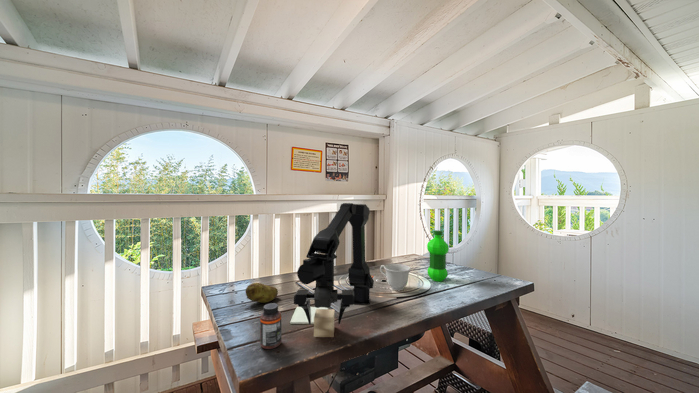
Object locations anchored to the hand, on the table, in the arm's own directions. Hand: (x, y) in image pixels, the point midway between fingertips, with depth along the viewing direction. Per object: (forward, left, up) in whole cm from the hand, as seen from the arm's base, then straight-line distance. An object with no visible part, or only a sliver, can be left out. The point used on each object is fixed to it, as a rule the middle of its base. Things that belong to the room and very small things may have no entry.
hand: (324, 323), depth 85 cm
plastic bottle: (-53, -51, -3) cm, 74 cm away
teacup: (-29, -39, -3) cm, 49 cm away
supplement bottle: (+15, +7, -3) cm, 17 cm away
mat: (+6, -11, -3) cm, 13 cm away
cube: (0, 0, -3) cm, 3 cm away
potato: (+27, -23, -3) cm, 36 cm away
